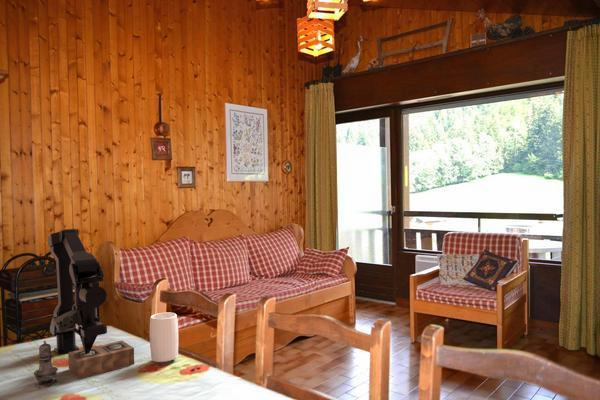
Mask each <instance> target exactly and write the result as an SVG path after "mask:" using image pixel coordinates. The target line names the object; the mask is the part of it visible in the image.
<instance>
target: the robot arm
mask: <svg viewBox="0 0 600 400" xmlns="http://www.w3.org/2000/svg"><path fill="white" fill-rule="evenodd" d="M47 245H48V246H47V247H48V248H49V253H51V255H52V256H53V257H54V258H55V262H56V263H55V265H56V281H57V296H58V297H57V298H58V303H57V304H56V307H55V308H54V310H53V317H52V319H51V322H50V326H49V331H50V332H49V333H50V334H51V335H52V336H53V337H56V347H54V348H53V351H54V352H55V353H56V354H57V355H62V354H65V353H66V354H68V353H69V352H73V351H78V350H80V348H79V347H78V346H77V343H76V340H77V339H76V334H77V335H78V336H79V338H80V341H81V345H82V347H83V348H82V349H84V351H85V353H86V354H87V353H90V351H91V348H92V347H94V346H93V345H94V344H95V341H96V339H97V338H98V337H99V336H103V335H106V334H107V333H108V326H107V325H106V324H104V323H103V322H101V321H100V317H98V316H97V315H98V313H97V312H98V311H97V308H99V306H102V305H103V304H104V303H105V302H106V300H107V296H108V295H107V292H106V290H105V288H104V287H103V286H100V282H104V276H105V275H104V271H103V269H102V265H101V263H100V262H99V260H98V259H97V258H96V256H95V255H93V253H90V252H87V250H86V248H85V246H84V244H83V242H82V240H81V238H80V236H79V230H78V229H77V228H68V229H67V228H66V229H61V230H60V229H59V231H57V232H52V233H50V234H49V235H48V236H47ZM73 286H74V287H73Z"/></svg>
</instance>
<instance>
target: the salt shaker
mask: <svg viewBox="0 0 600 400" xmlns="http://www.w3.org/2000/svg"><path fill="white" fill-rule="evenodd" d="M38 352H39V353H38V356H39V357H37V360H38V363H39V365H38V368H37V369H36V370H35V371H34V372H33V376H34V378H35V380H37V383H35V386H34V387H35V388H38V389H42V388H48V387H51V386H54V385H55V384H57V382H58V381H57V380H56V379H55V377H56V375H57V372H58V367H55V366H53V363H52V362H53V361H52V358H53V355H52V346H51V344H50V343H47V342H46V340H44V341H43V344H40V346H39V347H38Z"/></svg>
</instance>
